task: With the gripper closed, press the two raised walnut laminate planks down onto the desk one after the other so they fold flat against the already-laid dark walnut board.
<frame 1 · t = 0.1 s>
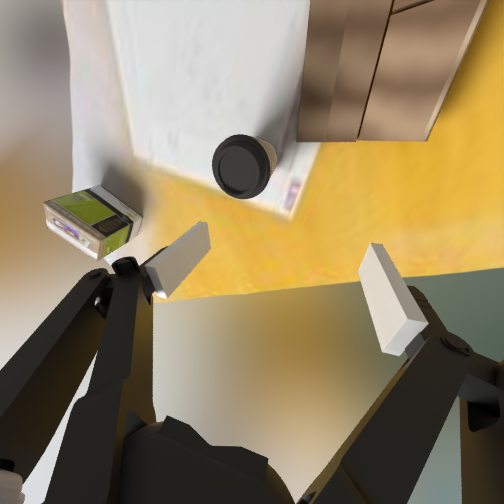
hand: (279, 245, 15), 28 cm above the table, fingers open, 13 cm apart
tea box: (120, 212, 58), on the table
laid board: (345, 24, 25), on the table
coffee cup: (261, 158, 38), on the table
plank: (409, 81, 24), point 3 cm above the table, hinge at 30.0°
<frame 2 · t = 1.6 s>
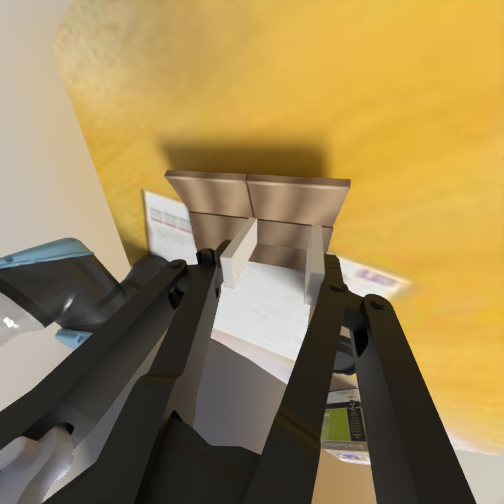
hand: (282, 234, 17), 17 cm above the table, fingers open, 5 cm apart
tea box: (346, 396, 63), on the table
laid board: (255, 239, 38), on the table
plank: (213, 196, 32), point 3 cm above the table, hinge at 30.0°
coffee cup: (328, 295, 41), on the table
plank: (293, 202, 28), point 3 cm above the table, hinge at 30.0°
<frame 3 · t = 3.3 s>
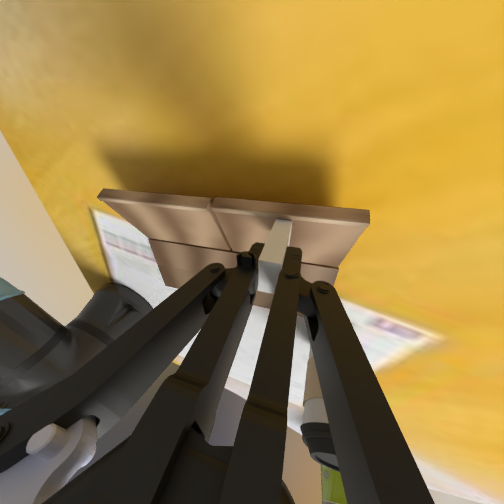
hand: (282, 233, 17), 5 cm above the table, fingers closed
tea box: (350, 440, 54), on the table
laid board: (236, 274, 29), on the table
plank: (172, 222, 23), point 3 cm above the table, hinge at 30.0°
coffee cup: (330, 341, 32), on the table
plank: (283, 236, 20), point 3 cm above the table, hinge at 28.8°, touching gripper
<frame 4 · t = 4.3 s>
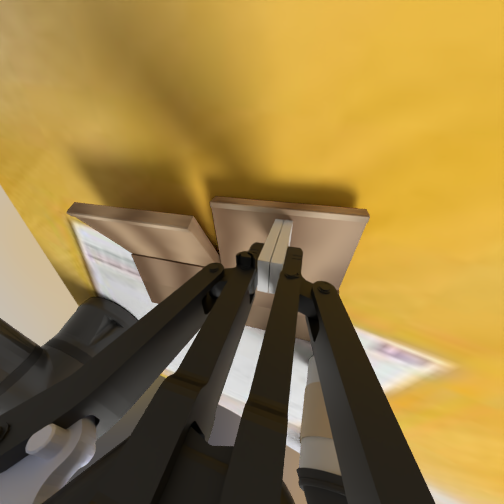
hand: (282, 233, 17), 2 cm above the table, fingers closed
laid board: (227, 292, 27), on the table
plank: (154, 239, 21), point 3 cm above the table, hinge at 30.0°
coffee cup: (330, 364, 30), on the table
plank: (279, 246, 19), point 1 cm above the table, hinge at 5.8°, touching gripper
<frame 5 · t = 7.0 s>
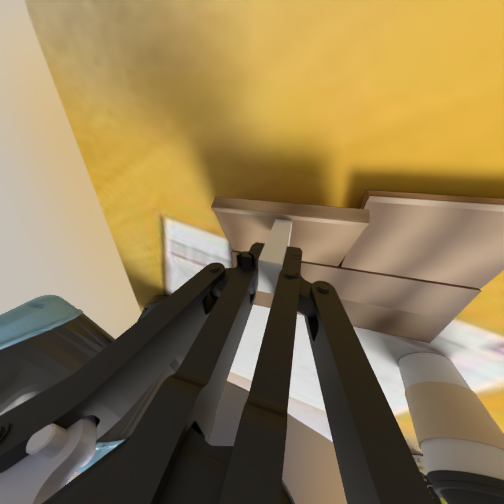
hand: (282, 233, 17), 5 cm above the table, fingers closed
tea box: (404, 458, 51), on the table
laid board: (328, 290, 26), on the table
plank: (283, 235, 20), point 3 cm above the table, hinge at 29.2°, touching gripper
coffee cup: (423, 363, 29), on the table
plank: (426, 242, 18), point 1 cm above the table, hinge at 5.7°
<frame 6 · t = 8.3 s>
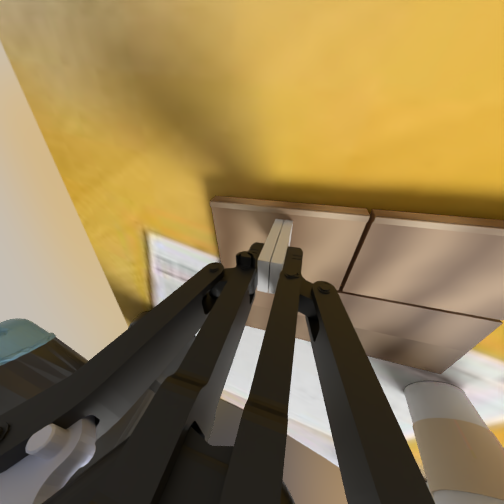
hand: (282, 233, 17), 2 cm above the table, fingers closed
laid board: (328, 313, 23), on the table
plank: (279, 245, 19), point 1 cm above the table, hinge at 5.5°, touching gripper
coffee cup: (432, 392, 26), on the table
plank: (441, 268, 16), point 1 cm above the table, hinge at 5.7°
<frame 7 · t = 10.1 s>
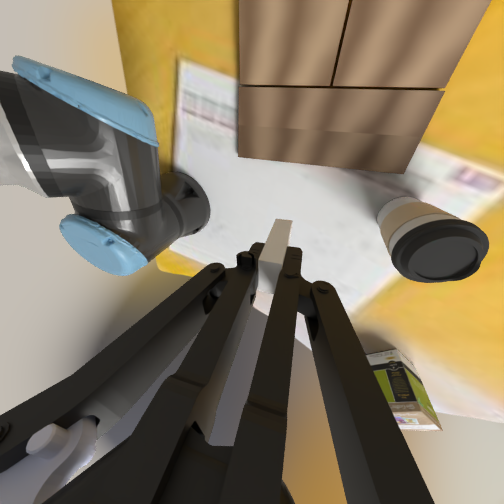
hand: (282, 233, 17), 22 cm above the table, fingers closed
tea box: (379, 360, 56), on the table
laid board: (320, 130, 30), on the table
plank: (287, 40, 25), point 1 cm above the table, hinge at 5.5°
coffee cup: (398, 215, 33), on the table
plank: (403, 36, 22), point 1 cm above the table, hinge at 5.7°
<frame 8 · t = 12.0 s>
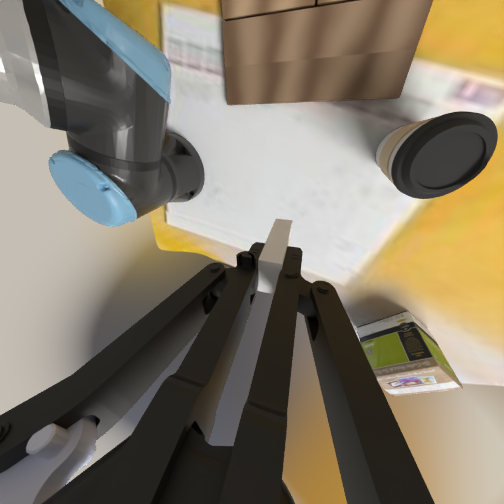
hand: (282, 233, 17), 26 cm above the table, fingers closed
tea box: (390, 327, 54), on the table
laid board: (309, 61, 29), on the table
coffee cup: (398, 149, 32), on the table
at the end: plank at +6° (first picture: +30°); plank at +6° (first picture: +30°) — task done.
